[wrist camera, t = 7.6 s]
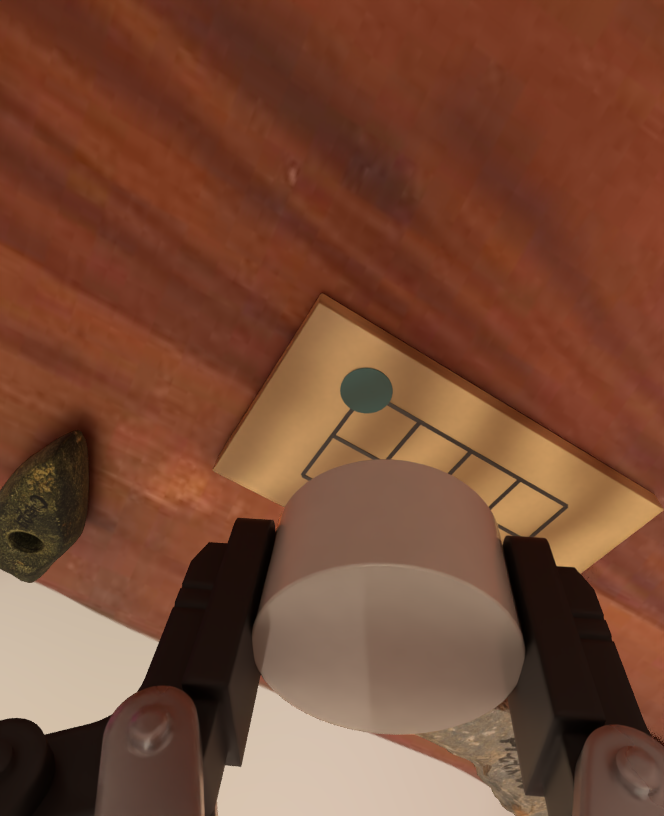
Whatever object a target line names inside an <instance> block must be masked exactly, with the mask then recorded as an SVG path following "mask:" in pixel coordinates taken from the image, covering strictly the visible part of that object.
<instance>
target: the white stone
mask: <svg viewBox="0 0 664 816" xmlns="http://www.w3.org/2000/svg"><path fill="white" fill-rule="evenodd" d="M252 645H253V653H254V661H255V664H256V666H257V669H258V671H259V672H260V674H261V675H262V677H263V679H264V680H265V681H266V682H267V684H268V685H269V686H270V687H271V688H272V689H273V690H274V691H275V692H276V693H277V694H278V695H279V696H280V697H282V698H283V699H284V700H285V701H287V702H288V703H290V704H291V705H293V706H294V707H296V708H297V709H299V710H301V711H303V712H304V713H306V714H309V715H311V716H313V717H315V718H317V719H319V720H322V721H325V722H328V723H330V724H334V725H337V726H340V727H344V728H348V729H353V730H358V731H363V732H370V733H378V734H418V733H428V732H434V731H440V730H444V729H448V728H452V727H456V726H459V725H462V724H464V723H467V722H470V721H472V720H474V719H476V718H479V717H481V716H483V715H484V714H486V713H488V712H489V711H491V710H493V709H494V708H495V707H497V706H498V705H499V704H500V703H502V702H503V701H504V700H505V699H506V698H507V697H508V696H509V695H510V694H511V693H512V691H513V690H514V688H515V687H516V685H517V683H518V680H519V676H520V673H521V670H522V666H523V663H524V659H525V652H526V646H525V642H524V637H523V633H522V629H521V624H520V620H519V615H518V611H517V607H516V602H515V598H514V593H513V589H512V585H511V580H510V576H509V571H508V567H507V563H506V558H505V554H504V549H503V545H502V541H501V536H500V532H499V528H498V524H497V522H496V520H495V517H494V515H493V513H492V511H491V510H490V508H489V507H488V506H487V504H486V503H485V502H484V500H483V499H482V498H481V497H480V496H479V495H478V494H477V493H476V492H475V491H474V490H473V489H471V488H470V487H469V486H468V485H466V484H465V483H464V482H462V481H460V480H459V479H457V478H456V477H454V476H452V475H450V474H448V473H446V472H443V471H441V470H439V469H436V468H433V467H430V466H427V465H424V464H420V463H415V462H410V461H403V460H393V459H375V460H365V461H358V462H354V463H349V464H345V465H342V466H339V467H336V468H333V469H330V470H328V471H326V472H324V473H322V474H320V475H318V476H316V477H315V478H313V479H311V480H310V481H308V482H307V483H306V484H304V485H303V486H302V487H301V488H300V489H299V490H298V491H296V493H295V494H294V495H293V496H292V497H291V498H290V499H289V501H288V502H287V504H286V505H285V507H284V509H283V510H282V513H281V515H280V518H279V520H278V524H277V528H276V532H275V536H274V540H273V545H272V549H271V553H270V557H269V561H268V565H267V569H266V573H265V577H264V582H263V586H262V590H261V594H260V598H259V602H258V606H257V610H256V614H255V619H254V623H253V627H252Z"/></svg>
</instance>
